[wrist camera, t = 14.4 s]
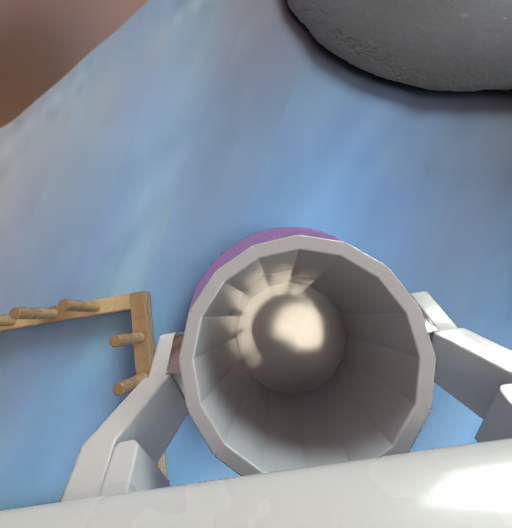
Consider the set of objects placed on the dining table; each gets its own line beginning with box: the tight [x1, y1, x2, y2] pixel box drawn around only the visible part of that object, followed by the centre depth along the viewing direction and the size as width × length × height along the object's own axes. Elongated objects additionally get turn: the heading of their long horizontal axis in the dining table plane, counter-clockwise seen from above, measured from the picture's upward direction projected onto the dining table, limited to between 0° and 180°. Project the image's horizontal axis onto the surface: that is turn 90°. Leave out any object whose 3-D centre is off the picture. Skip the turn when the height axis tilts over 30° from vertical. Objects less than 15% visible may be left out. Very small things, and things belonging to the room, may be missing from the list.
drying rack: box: [0, 292, 167, 478], centre depth 22 cm, size 15×16×5 cm
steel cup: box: [179, 235, 436, 476], centre depth 10 cm, size 6×6×8 cm
